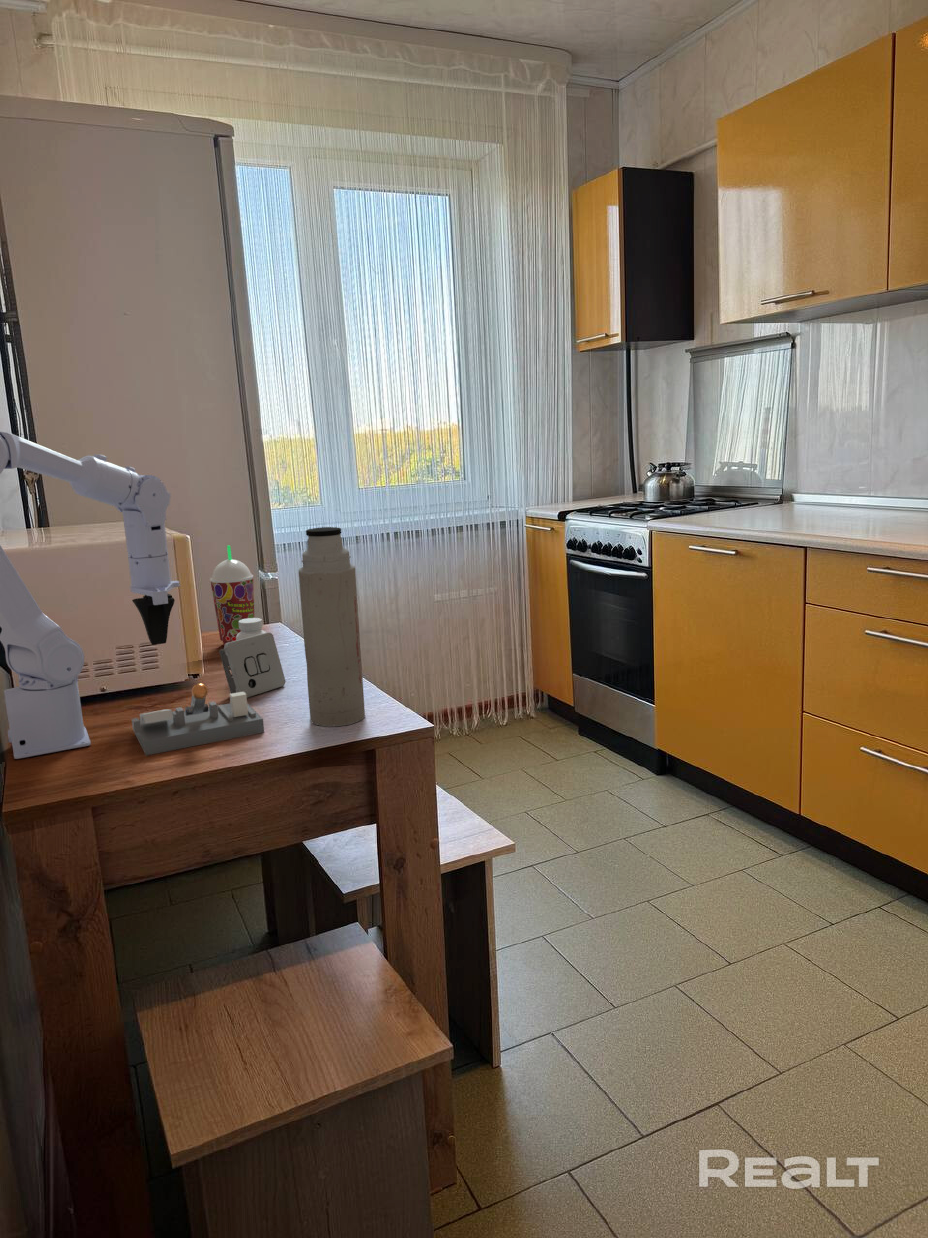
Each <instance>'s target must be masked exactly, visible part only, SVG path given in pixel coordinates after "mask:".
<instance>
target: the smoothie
mask: <svg viewBox="0 0 928 1238" xmlns="http://www.w3.org/2000/svg"><path fill="white" fill-rule="evenodd" d="M226 547H227V548H226V549H227V559H224V560H223V561H221V562H219V563H218V564H217V565H216V566H215V568H214V569H213V571H212V575H211V576H210V578H209V580H210V585H211V586H210V587H211V591H212V598H213V599H212V600H213V604H214V609H215V616H216V622H217V623H216V624H217V628H218V634H219V635H218V636H219V639H220V641H221V642H222V644H223V646H225V644H226V643H228V642H232V641H236V636H237V634H238V633H240V632H241V630H240V629H239V621H240V620H242V619H247V618H256V616H255V591H254V590H255V588H254V584H255V582H254V574H252V572H251V570H250V569H249V567H248V566H247V564H245V563H244V562H242V561H241V560H239V559H238V560H237V559H234V558H233V557H232V550H231V545H227V546H226Z"/></svg>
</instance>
